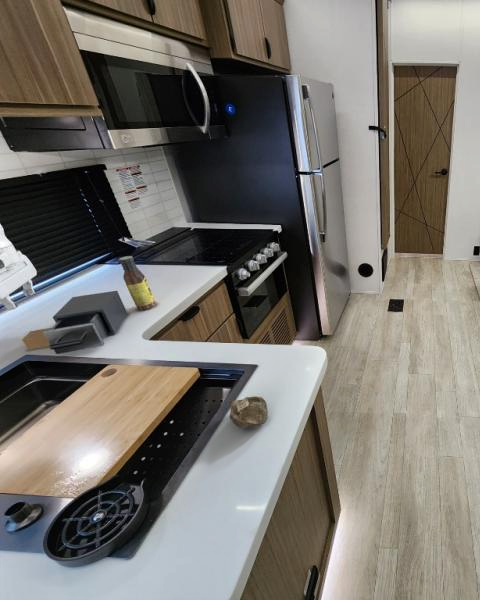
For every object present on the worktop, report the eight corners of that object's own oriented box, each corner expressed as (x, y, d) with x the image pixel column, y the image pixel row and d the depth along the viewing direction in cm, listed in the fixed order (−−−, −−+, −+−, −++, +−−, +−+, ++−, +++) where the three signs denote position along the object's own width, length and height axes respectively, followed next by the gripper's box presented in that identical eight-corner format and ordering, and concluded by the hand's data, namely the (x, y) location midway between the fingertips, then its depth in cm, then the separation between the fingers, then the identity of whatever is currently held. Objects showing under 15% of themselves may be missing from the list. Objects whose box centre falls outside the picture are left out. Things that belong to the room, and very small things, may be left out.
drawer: (97, 354, 98) (85, 332, 95) (48, 364, 95) (34, 341, 91) (116, 324, 113) (107, 304, 110) (75, 331, 110) (63, 311, 106)
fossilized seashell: (224, 404, 78) (228, 439, 71) (234, 383, 76) (240, 418, 69) (255, 404, 83) (262, 437, 76) (266, 385, 81) (274, 417, 74)
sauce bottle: (160, 305, 127) (140, 256, 118) (142, 312, 123) (120, 262, 113) (151, 301, 130) (131, 253, 121) (133, 308, 126) (111, 258, 116)
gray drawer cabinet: (115, 334, 110) (102, 309, 105) (67, 342, 106) (52, 317, 101) (127, 313, 122) (117, 290, 117) (85, 320, 117) (72, 297, 113)
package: (28, 350, 102) (21, 339, 100) (36, 341, 106) (30, 331, 104) (59, 344, 105) (53, 334, 103) (66, 336, 109) (60, 326, 107)
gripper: (2, 248, 99) (27, 289, 106) (-47, 272, 83) (-14, 319, 89) (29, 245, 101) (52, 286, 108) (-13, 268, 85) (17, 315, 91)
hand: (22, 301), depth 98 cm, fingers open, 8 cm apart
